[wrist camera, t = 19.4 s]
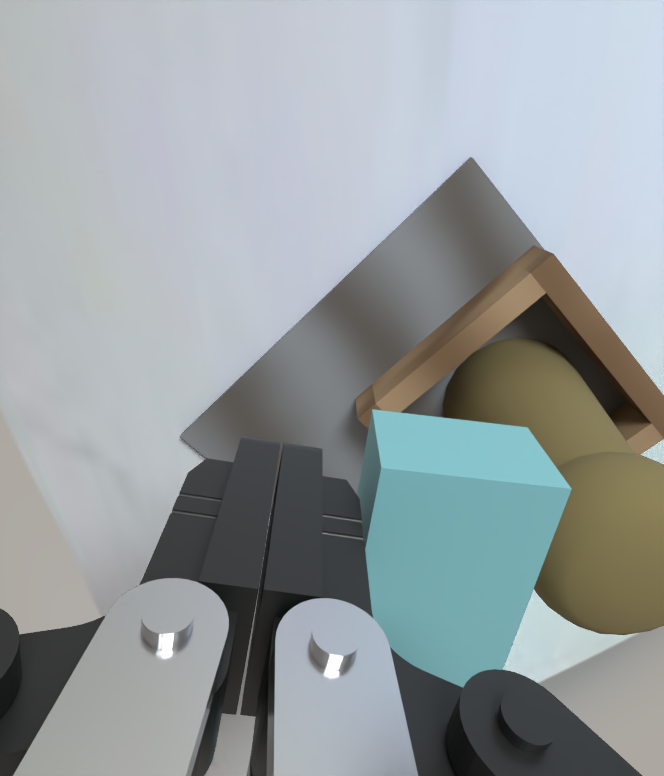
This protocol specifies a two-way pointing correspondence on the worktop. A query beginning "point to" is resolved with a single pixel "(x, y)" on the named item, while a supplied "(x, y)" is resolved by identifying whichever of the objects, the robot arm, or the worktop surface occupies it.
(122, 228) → the worktop surface
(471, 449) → the bar
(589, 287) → the worktop surface
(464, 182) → the grey metal base plate
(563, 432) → the olive rounded bulb piece
